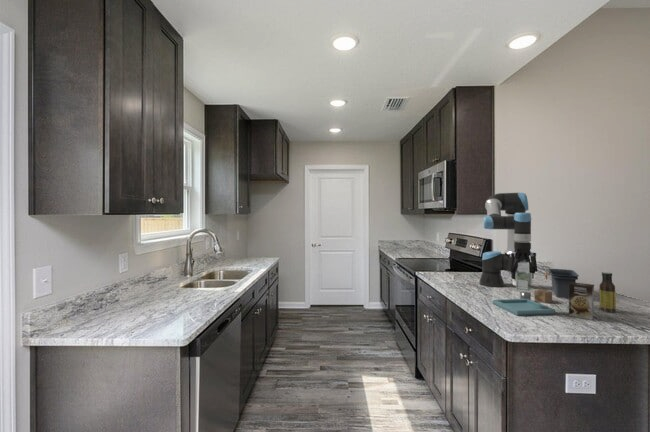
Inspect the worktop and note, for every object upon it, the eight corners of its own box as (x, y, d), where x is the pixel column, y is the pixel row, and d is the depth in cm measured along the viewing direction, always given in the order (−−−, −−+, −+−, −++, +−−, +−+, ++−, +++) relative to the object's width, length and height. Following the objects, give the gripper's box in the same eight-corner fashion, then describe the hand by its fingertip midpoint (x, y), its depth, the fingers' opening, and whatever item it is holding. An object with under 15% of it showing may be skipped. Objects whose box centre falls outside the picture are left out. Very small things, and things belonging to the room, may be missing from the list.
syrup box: (528, 288, 169) (528, 261, 169) (529, 291, 164) (529, 262, 164) (516, 287, 172) (516, 260, 172) (516, 289, 167) (516, 262, 167)
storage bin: (580, 300, 183) (580, 276, 183) (547, 297, 191) (548, 273, 191) (572, 292, 202) (573, 269, 202) (543, 289, 209) (543, 268, 209)
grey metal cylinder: (518, 300, 185) (518, 291, 185) (526, 299, 186) (526, 291, 186) (524, 302, 180) (524, 293, 180) (532, 302, 181) (532, 293, 181)
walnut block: (534, 300, 185) (534, 290, 185) (541, 299, 187) (541, 289, 187) (544, 303, 179) (544, 292, 179) (552, 302, 181) (552, 291, 181)
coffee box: (568, 316, 157) (568, 283, 157) (570, 313, 161) (570, 281, 161) (592, 320, 150) (592, 286, 150) (594, 317, 155) (594, 284, 155)
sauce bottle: (607, 309, 168) (607, 271, 167) (619, 312, 161) (619, 273, 161) (596, 309, 167) (596, 271, 167) (607, 313, 161) (607, 273, 161)
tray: (492, 304, 178) (492, 299, 178) (527, 303, 179) (527, 298, 179) (517, 315, 158) (517, 310, 158) (555, 314, 159) (555, 309, 159)
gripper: (508, 242, 163) (508, 287, 164) (546, 242, 165) (546, 286, 165) (499, 241, 171) (499, 283, 171) (535, 241, 172) (535, 283, 173)
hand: (522, 285), depth 168 cm, fingers closed on syrup box, 8 cm apart
